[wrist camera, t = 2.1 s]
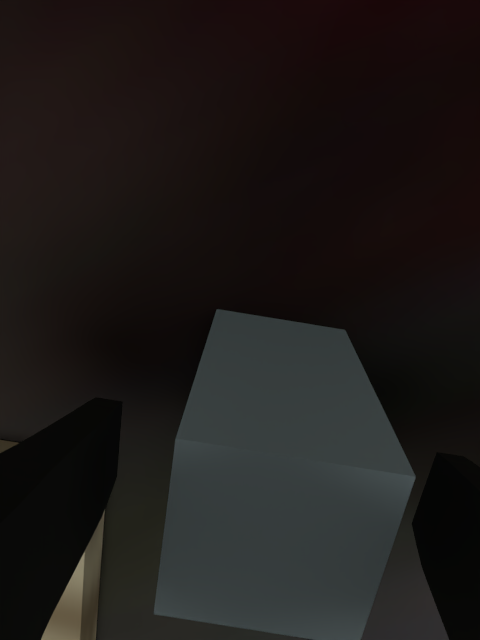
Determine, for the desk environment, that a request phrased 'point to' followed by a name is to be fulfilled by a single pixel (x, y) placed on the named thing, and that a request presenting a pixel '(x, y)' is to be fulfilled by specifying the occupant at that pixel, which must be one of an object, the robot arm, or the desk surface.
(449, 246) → the desk surface
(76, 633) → the notched board
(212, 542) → the tab peg
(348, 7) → the desk surface
